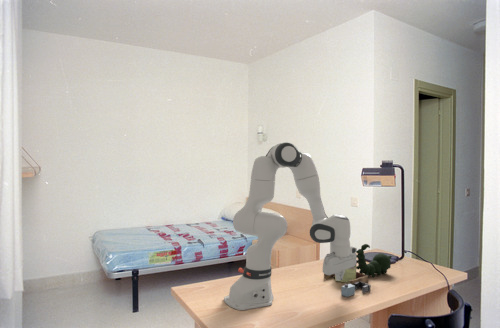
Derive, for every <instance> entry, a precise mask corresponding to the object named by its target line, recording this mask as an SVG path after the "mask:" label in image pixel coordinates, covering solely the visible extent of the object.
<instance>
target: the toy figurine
mask: <svg viewBox="0 0 500 328" xmlns="http://www.w3.org/2000/svg"><path fill="white" fill-rule="evenodd" d="M367 248H368V249H370V248H371V246H370V244H367V243H365V244H363V245H361V247H360V248H359V249H358V250H357V252H356V260H357V264H358V265H356V270H359V273H362V274H365V275H367V276H368V277H369V276H370V277H371V278H374V277H376V275H377V276H381V275H382V274H387V272H388V270H389V269H391V264H392V262H391V259H392V257H393V256H392V255H387V254H385V253H381V252H380V253H377V254H375V255H374V256H373V258H372V260H371V261H369V263H367V261H366V256H365V250H366V249H367Z"/></svg>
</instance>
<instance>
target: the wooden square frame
mask: <svg viewBox="0 0 500 328" xmlns="http://www.w3.org/2000/svg"><path fill="white" fill-rule="evenodd" d="M332 278H335V274H332V275H326V274H324V273H323V280H328V279H332ZM359 281H361V282H364V283H366V284H369V275H368V276H367V275H365V274H364V273H363V274H362V273H359V272H358V271H356V279H353V280H350V281H349V283H348V284H352V285H354V283H356V282H359Z"/></svg>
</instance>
